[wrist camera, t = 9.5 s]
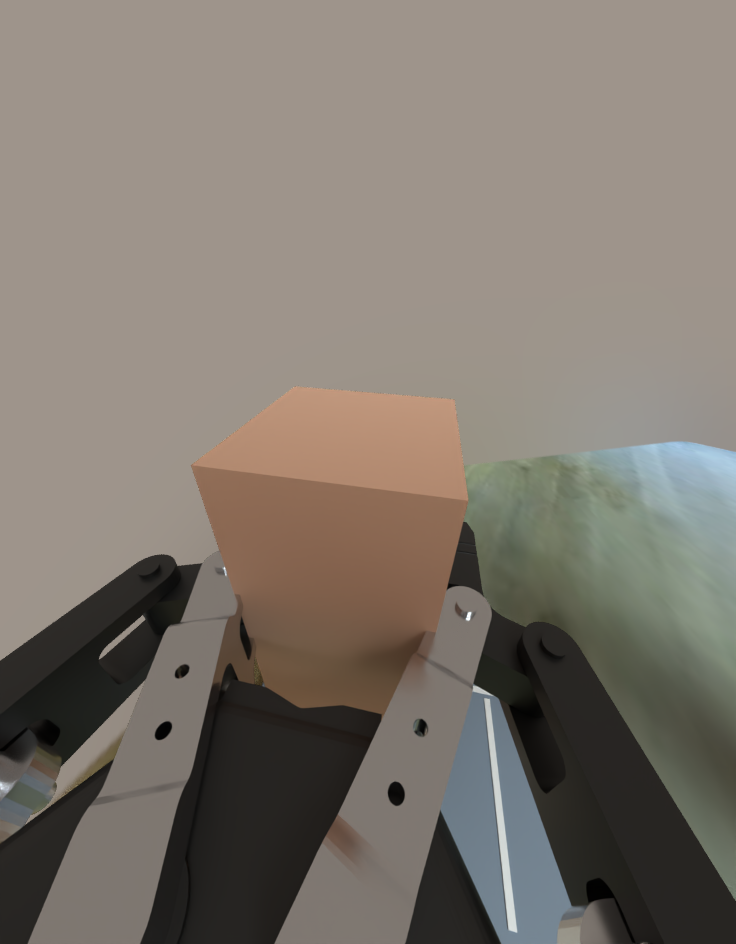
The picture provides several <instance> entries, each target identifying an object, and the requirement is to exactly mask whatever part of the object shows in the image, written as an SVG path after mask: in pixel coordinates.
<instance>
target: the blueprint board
mask: <svg viewBox="0 0 736 944" xmlns="http://www.w3.org/2000/svg"><path fill="white" fill-rule="evenodd" d="M262 686H264V687H265V684H264V683H263V685H262ZM440 810H441V812H442V814H443V817H444V819H445V821H446V823H447V825H448V827H449V830H450V832H451V834H452V836H453V838H454V841H455V843H456V845H457V847H458V849H459V852H460V854H461V856H462V858H463V860H464V863H465V865H466V867H467V869H468V871H469V874H470V876H471V878H472V880H473V882H474V885H475V887H476V889H477V891H478V893H479V896H480V898H481V900H482V902H483V904H484V907H485V909H486V911H487V913H488V915H489V918H490V920H491V922H492V924H493V926H494V928H495V931H496V933H497V935H498V937H499V939H500V942H501V944H557V934H558V927H559V923H560V920H561V918H562V916H563V914H564V913H565V912H566V910H567V909H569V908H570V907H572V906H571V903H570V900H569V897H568V895H567V892H566V889H565V886H564V883H563V880H562V878H561V875H560V872H559V869H558V866H557V863H556V860H555V858H554V855H553V852H552V849H551V846H550V843H549V841H548V838H547V835H546V832H545V829H544V826H543V823H542V821H541V818H540V815H539V812H538V809H537V806H536V804H535V801H534V798H533V795H532V792H531V789H530V787H529V784H528V781H527V778H526V775H525V772H524V769H523V767H522V764H521V761H520V758H519V755H518V752H517V750H516V747H515V744H514V741H513V738H512V735H511V732H510V730H509V727H508V724H507V721H506V718H505V715H504V713H503V710H502V707H501V704H500V701H499V699H498V698H497V697H495V696H493V695H492V694H490V693H488V692H486V691H485V690H483V689H481V688H479V687H478V686H476V685H474V684H473V691H472V696H471V700H470V703H469V707H468V711H467V714H466V718H465V722H464V725H463V729H462V733H461V736H460V740H459V743H458V747H457V751H456V754H455V758H454V762H453V765H452V769H451V773H450V776H449V780H448V783H447V787H446V791H445V794H444V798H443V802H442V805H441V809H440Z"/></svg>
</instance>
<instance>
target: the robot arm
mask: <svg viewBox="0 0 736 944" xmlns="http://www.w3.org/2000/svg"><path fill="white" fill-rule="evenodd" d="M242 610H243V603H242V600H241V597H240V595H238V594H234V592H233V589H232V586H231V583H230V580H229V577H228V574H227V571H226V568H225V565H224V562H223V559H222V556H221V553H220V551H217V552H215V553H213V554H212V555H210V556H209V557H208V558H207V559H206V560H205V561H204V562H203V563H201V564H193V565H184V566H177V564H176V562H175V560H174V559H173V557H171V556H169V555H154V556H151V557H148V558H145V559H143V560H141V561H139V562H138V563H136V564H135V565H133V566H132V567H131V568H129V569H128V570H126V571H125V572H124V573H122V574H121V575H119V576H118V577H117V578H115V579H114V580H112V581H111V582H110V583H108V584H107V585H105V586H104V587H103V588H101V589H100V590H98V591H97V592H96V593H94V594H93V595H91V596H90V597H89V598H87V599H86V600H85V601H83V602H82V603H80V604H79V605H77V606H76V607H75V608H73V609H72V610H71V611H69V612H68V613H66V614H65V615H64V616H62V617H61V618H59V619H58V620H57V621H55V622H54V623H52V624H51V625H50V626H48V627H47V628H45V629H44V630H43V631H41V632H40V633H38V634H37V635H36V636H34V637H33V638H31V639H30V640H29V641H28V642H26V643H24V644H23V645H22V646H20V647H19V648H17V649H16V650H15V651H13V652H12V653H10V654H9V655H8V656H6V657H5V658H4V659H2V660H1V661H0V944H501V942H500V939H499V937H498V935H497V933H496V931H495V928H494V926H493V924H492V922H491V920H490V918H489V915H488V913H487V911H486V909H485V907H484V904H483V902H482V900H481V898H480V896H479V893H478V891H477V889H476V887H475V885H474V882H473V880H472V878H471V876H470V874H469V871H468V869H467V867H466V865H465V863H464V860H463V858H462V856H461V854H460V852H459V849H458V847H457V845H456V843H455V841H454V838H453V836H452V834H451V832H450V830H449V827H448V825H447V823H446V821H445V819H444V817H443V814H442V812H441V810H440V809H441V805H442V802H443V798H444V794H445V791H446V787H447V783H448V780H449V776H450V773H451V769H452V765H453V762H454V758H455V754H456V751H457V747H458V743H459V740H460V736H461V733H462V729H463V725H464V722H465V718H466V714H467V711H468V707H469V703H470V700H471V696H472V691H473V684H474V685H476V686H478V687H479V688H481V689H483V690H485V691H486V692H488V693H490V694H492V695H493V696H495V697H497V698H498V699H499V701H500V704H501V707H502V710H503V713H504V715H505V718H506V721H507V724H508V727H509V730H510V732H511V735H512V738H513V741H514V744H515V747H516V750H517V752H518V755H519V758H520V761H521V764H522V767H523V769H524V772H525V775H526V778H527V781H528V784H529V787H530V789H531V792H532V795H533V798H534V801H535V804H536V806H537V809H538V812H539V815H540V818H541V821H542V823H543V826H544V829H545V832H546V835H547V838H548V841H549V843H550V846H551V849H552V852H553V855H554V858H555V860H556V863H557V866H558V869H559V872H560V875H561V878H562V880H563V883H564V886H565V889H566V892H567V895H568V897H569V900H570V903H571V906H572V907H570V908H569V909H567V910H566V912H565V913H564V914H563V916H562V918H561V920H560V923H559V927H558V934H557V944H736V901H735V899H734V898H733V896H732V895H731V893H730V891H729V890H728V888H727V886H726V885H725V883H724V882H723V880H722V878H721V877H720V875H719V873H718V872H717V870H716V869H715V867H714V865H713V864H712V862H711V860H710V859H709V857H708V856H707V854H706V852H705V851H704V849H703V848H702V846H701V844H700V843H699V841H698V839H697V838H696V836H695V835H694V833H693V831H692V830H691V828H690V826H689V825H688V823H687V822H686V820H685V818H684V817H683V815H682V813H681V812H680V810H679V809H678V807H677V805H676V804H675V802H674V801H673V799H672V797H671V796H670V794H669V792H668V791H667V789H666V788H665V786H664V784H663V783H662V781H661V779H660V778H659V776H658V775H657V773H656V771H655V770H654V768H653V766H652V765H651V763H650V762H649V760H648V758H647V757H646V755H645V754H644V752H643V750H642V749H641V747H640V745H639V744H638V742H637V741H636V739H635V737H634V736H633V734H632V732H631V731H630V729H629V728H628V726H627V724H626V723H625V721H624V719H623V718H622V716H621V715H620V713H619V711H618V710H617V708H616V706H615V705H614V703H613V702H612V700H611V698H610V697H609V695H608V694H607V692H606V690H605V689H604V687H603V685H602V684H601V682H600V681H599V679H598V677H597V676H596V674H595V672H594V671H593V669H592V668H591V666H590V664H589V663H588V661H587V659H586V658H585V656H584V655H583V653H582V651H581V650H580V648H579V647H578V645H577V644H576V642H575V641H574V640H573V639H572V638H571V637H570V636H569V635H568V634H567V633H566V632H564V631H563V630H561V629H560V628H558V627H556V626H554V625H552V624H549V623H545V622H534V623H531V624H529V625H528V626H527V627H524V626H521V625H519V624H517V623H515V622H513V621H511V620H509V619H507V618H505V617H503V616H501V615H500V614H498V613H497V612H496V611H494V610H493V609H492V608H491V607H490V605H489V603H488V602H487V600H486V599H485V598H484V595H483V592H482V586H481V579H480V572H479V565H478V558H477V551H476V546H475V537H474V532H473V531H472V530H471V528H470V527H469V525H468V524H467V522H463V525H462V529H461V533H460V537H459V541H458V545H457V549H456V553H455V557H454V561H453V565H452V569H451V574H450V578H449V582H448V586H447V590H446V594H445V598H444V602H443V606H442V610H441V614H440V618H439V623H438V627H437V631H436V632H431V631H426V633H425V635H424V637H423V640H422V642H421V644H420V646H419V648H418V650H417V652H416V653H414V654H413V655H412V657H411V659H410V661H409V663H408V665H407V667H406V669H405V671H404V673H403V675H402V678H401V680H400V682H399V684H398V686H397V688H396V691H395V693H394V695H393V697H392V699H391V701H390V703H389V706H388V708H387V710H386V712H385V714H384V716H383V719H382V714H379V713H375V712H370V711H366V710H362V709H358V708H353V707H349V706H345V705H338V706H325V707H313V708H300V707H297V706H296V705H294V704H292V703H291V702H289V701H288V700H286V699H284V698H283V697H281V696H280V695H278V694H277V693H275V692H273V691H272V690H270V689H269V688H267V687H264V686H259V685H255V679H254V661H255V654H256V644H255V640H254V638H251V637H248V634H247V631H246V628H245V625H244V622H243V619H242ZM142 615H143V616H144V617H145V619H146V620H145V621H144V622H142V623H141V624H140V625H139V626H138V627H137V628H136V629H134V630H133V631H132V632H131V633H130V634H129V635H128V636H127V637H125V638H124V639H123V640H122V641H121V642H120V643H119V644H117V645H116V646H115V647H114V648H113V649H112V650H111V651H109V652H108V653H107V654H106V655H105V656H104V657H103V658H101V659H99V656H100V654H101V652H102V651H103V650H104V648H105V647H106V646H107V645H108V644H109V643H111V642H112V641H113V640H114V639H115V638H116V637H117V636H119V635H120V634H121V633H122V632H123V631H125V630H126V629H127V628H128V627H129V626H130V625H131V624H133V623H134V622H135V621H136V620H137V619H138V618H140V617H141V616H142ZM145 679H146V681H145V683H144V686H143V688H142V691H141V693H140V696H139V698H138V701H137V703H136V706H135V709H134V711H133V713H132V716H131V718H130V721H129V723H128V726H127V728H126V731H125V733H124V736H123V738H122V741H121V743H120V746H119V748H118V751H117V753H116V756H115V758H114V759H113V760H112V761H110V762H109V763H108V764H106V765H105V766H104V767H102V768H101V769H100V770H98V771H97V772H96V773H94V774H93V775H92V776H90V777H89V778H88V779H86V780H85V781H84V782H82V783H81V784H80V785H78V786H77V787H76V788H74V789H73V790H72V791H70V792H69V793H67V794H66V795H65V796H63V797H62V798H61V799H59V800H58V801H57V802H55V803H54V804H53V805H51V806H50V807H49V808H47V809H46V810H45V811H43V812H42V813H41V814H39V815H38V816H37V817H35V818H34V819H33V820H31V821H30V822H29V823H27V824H26V825H25V823H26V822H27V820H28V818H29V817H30V815H32V814H35V813H37V812H39V811H40V810H42V809H43V808H44V807H45V806H46V805H47V804H48V803H49V802H50V801H51V799H52V798H53V796H54V794H55V792H56V787H57V785H56V782H55V781H56V779H57V776H58V774H59V771H60V768H61V766H62V765H63V764H64V763H65V762H66V761H67V760H68V759H69V758H70V757H71V756H72V755H73V754H74V753H75V752H76V751H77V750H78V749H79V748H80V747H81V745H83V743H84V742H85V741H86V740H87V739H88V738H89V737H90V736H91V735H92V734H93V733H94V732H95V731H96V730H97V729H98V728H99V727H100V726H101V725H102V724H103V723H104V722H105V721H106V720H107V719H108V718H109V716H111V715H112V714H113V712H114V711H115V710H116V709H117V708H118V707H119V706H120V705H121V704H122V703H123V702H124V701H125V700H126V699H127V698H128V697H129V696H130V695H131V694H132V693H133V691H134V690H136V689H137V688H138V687H139V685H140V684H142V683H143V681H144V680H145ZM381 720H382V721H381ZM24 825H25V826H24Z"/></svg>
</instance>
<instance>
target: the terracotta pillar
mask: <svg viewBox="0 0 736 944" xmlns="http://www.w3.org/2000/svg"><path fill="white" fill-rule="evenodd" d="M191 467H192V470H193V473H194V476H195V479H196V482H197V485H198V488H199V491H200V494H201V497H202V500H203V503H204V506H205V509H206V512H207V515H208V518H209V520H210V524H211V526H212V529H213V532H214V535H215V538H216V541H217V544H218V547H219V550H220V553H221V556H222V559H223V562H224V565H225V568H226V571H227V574H228V577H229V580H230V583H231V586H232V589H233V592H234V594H238V595H240V597H241V600H242V603H243V610H242V619H243V622H244V625H245V628H246V631H247V634H248V637H251V638H254V640H255V644H256V654H255V657H256V660H257V663H258V666H259V669H260V672H261V675H262V678H263V681H264V684H265V687H267V688H269V689H270V690H272V691H273V692H275V693H277V694H278V695H280V696H281V697H283V698H284V699H286V700H288V701H289V702H291V703H292V704H294V705H296V706H297V707H300V708H313V707H325V706H338V705H345V706H349V707H353V708H358V709H362V710H366V711H370V712H375V713H379V714H382V719H383V716H384V714H385V712H386V710H387V708H388V706H389V703H390V701H391V699H392V697H393V695H394V693H395V691H396V688H397V686H398V684H399V682H400V680H401V678H402V675H403V673H404V671H405V669H406V667H407V665H408V663H409V661H410V659H411V657H412V655H413V654H414V653H416V652H417V650H418V648H419V646H420V644H421V642H422V640H423V637H424V635H425V633H426V631H431V632H436V631H437V627H438V623H439V618H440V614H441V610H442V606H443V602H444V598H445V594H446V590H447V586H448V582H449V578H450V574H451V569H452V565H453V561H454V557H455V553H456V549H457V545H458V541H459V537H460V533H461V529H462V525H463V520H464V516H465V512H466V508H467V504H468V494H467V487H466V480H465V472H464V465H463V458H462V451H461V443H460V436H459V429H458V421H457V414H456V407H455V400H454V399H442V398H431V397H418V396H406V395H394V394H393V395H392V394H381V393H369V392H356V391H343V390H332V389H319V388H307V387H294V388H292V389H291V390H290V391H288V392H287V393H286V394H284V395H283V396H282V397H281V398H279V399H278V400H277V401H275V402H274V403H272V404H271V405H270V406H268V407H267V408H266V409H264V410H263V411H262V412H260V413H259V414H258V415H257V416H256V417H254V418H253V419H251V420H250V421H249V422H247V423H246V424H245V425H244V426H242V427H241V428H239V429H238V430H237V431H236V432H234V433H233V434H231V435H230V436H229V437H227V438H226V439H225V440H224V441H222V442H221V443H220V444H218V445H217V446H216V447H215V448H213V449H212V450H211V451H209V452H208V453H206V454H205V455H204V456H202V457H201V458H200V459H198V460H197V461H196V462H194V463H193V464H192V465H191ZM381 721H382V720H381Z"/></svg>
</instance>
